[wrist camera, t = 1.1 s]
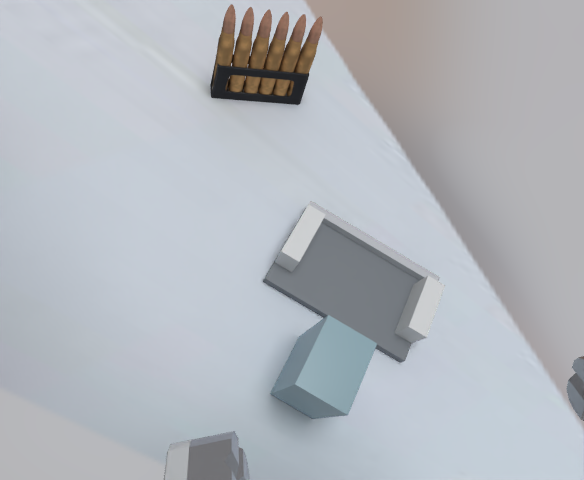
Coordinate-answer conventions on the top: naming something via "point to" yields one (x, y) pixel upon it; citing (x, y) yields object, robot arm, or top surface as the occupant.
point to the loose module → (325, 369)
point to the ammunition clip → (263, 60)
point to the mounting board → (356, 281)
